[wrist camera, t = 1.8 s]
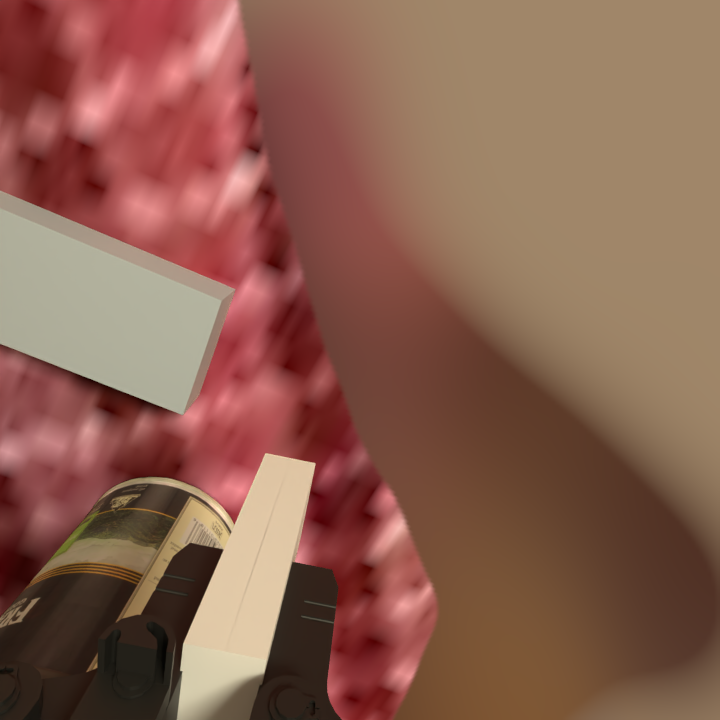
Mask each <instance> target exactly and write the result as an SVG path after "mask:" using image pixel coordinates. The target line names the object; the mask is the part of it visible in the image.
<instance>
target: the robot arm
mask: <svg viewBox="0 0 720 720" xmlns="http://www.w3.org/2000/svg"><path fill="white" fill-rule="evenodd" d="M314 468H315V463H311V462H306V461H301V460H296V459H292V458H287V457H282V456H277V455H272V454H267V453H266V454H265V456H264V458H263V461H262V463H261V465H260V468H259V470H258V472H257V474H256V477H255V479H254V481H253V484H252V486H251V488H250V491H249V493H248V495H247V498H246V500H245V502H244V504H243V507H242V509H241V511H240V514H239V516H238V518H237V521H236V523H235V525H234V528H233V530H232V532H231V534H230V537H229V539H228V541H227V544H226V546H225V548H224V549H219V548H214V547H209V546H204V545H199V544H194V543H189V544H188V545H186V546H185V547H184V548H183V549H181V550H180V551H179V552H178V553H176V554H175V555H174V556H173V557H172V559H171V561H170V563H169V564H168V566H167V568H166V570H165V572H164V574H163V576H162V577H161V579H160V581H159V582H158V584H157V586H156V589H155V591H153V593H152V595H151V597H150V599H149V600H148V602H147V604H146V606H145V608H144V609H143V611H142V613H141V615H134V616H130V617H127V618H123V619H121V620H119V621H117V622H116V623H114V624H112V625H111V626H109V627H108V628H107V629H106V630H105V631H104V632H103V634H102V635H101V636H100V637H99V638H98V660H97V668H96V669H93V670H91V671H88V672H86V673H81V674H76V675H71V676H62V677H54V678H45V679H41V675H40V672H39V671H38V670H37V669H36V668H35V667H33V666H32V665H31V664H29V663H25V662H20V661H8V662H0V720H342V719H341V718H340V717H339V716H338V715H337V714H336V712H335V711H334V709H333V707H332V705H331V703H330V701H329V697H328V693H327V678H328V669H329V661H330V653H331V644H332V636H333V628H334V619H335V611H336V603H337V594H338V585H337V582H336V580H335V577H334V574H333V571H332V570H330V569H325V568H320V567H316V566H311V565H306V564H301V563H296V562H295V559H296V555H297V550H298V546H299V542H300V538H301V533H302V528H303V523H304V518H305V513H306V508H307V503H308V498H309V493H310V488H311V483H312V478H313V473H314Z"/></svg>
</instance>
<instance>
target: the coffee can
mask: <svg viewBox="0 0 720 720" xmlns="http://www.w3.org/2000/svg"><path fill="white" fill-rule="evenodd" d="M233 528H234V523H233V521H232V520H231V518H230V516H229V515H228V513H227V512H226V511H225V510H224V509H223V507H222V506H221V505H220V504H219V503H218V502H217V501H215V500H214V499H213V498H212V497H210V496H209V495H208V494H206V493H204V492H203V491H201V490H200V489H198V488H196V487H194V486H191V485H188V484H186V483H184V482H181V481H177V480H174V479H169V478H162V477H142V478H135V479H131V480H128V481H125V482H123V483H120V484H118V485H116V486H114V487H113V488H111V489H110V490H108V491H107V492H106V493H105V494H104V495H103V496H102V497H101V498H100V499H99V500H98V501H97V502H96V504H95V505H94V507H93V509H92V510H91V511H90V512H89V514H88V515H87V516H86V517H85V519H84V520H83V521H82V522H81V523H80V525H79V526H78V527H77V528H76V529H75V530H74V531H73V533H72V534H71V535H70V536H69V537H68V539H67V540H66V541H65V542H64V543H63V545H62V546H61V547H60V548H59V549H58V550H57V552H56V553H55V554H54V555H53V556H52V557H51V559H50V560H49V561H48V562H47V563H46V565H45V566H44V567H43V568H42V569H41V570H40V572H39V573H38V574H37V575H36V576H35V577H34V578H33V580H32V581H31V582H30V583H29V584H28V585H27V586H26V588H25V589H24V590H23V591H22V593H21V594H20V595H19V596H18V597H17V598H16V599H15V601H14V602H13V603H12V604H11V606H10V607H9V608H8V609H7V610H6V611H5V612H4V613H3V615H2V616H1V617H0V662H8V661H20V662H25V663H29V664H31V665H32V666H33V667H35V668H36V669H37V670H38V671H39V672H40V675H41V679H45V678H54V677H62V676H71V675H76V674H81V673H86V672H88V671H91V670H93V669H96V668H97V660H98V638H99V637H100V636H101V635H102V634H103V632H104V631H105V630H106V629H107V628H108V627H109V626H111V625H112V624H114V623H116V622H117V621H119V620H121V619H123V618H127V617H130V616H134V615H141V613H142V611H143V609H144V608H145V606H146V604H147V602H148V600H149V599H150V597H151V595H152V593H153V591H155V589H156V586H157V584H158V582H159V581H160V579H161V577H162V576H163V574H164V572H165V570H166V568H167V566H168V564H169V563H170V561H171V559H172V557H173V556H174V555H175V554H176V553H178V552H179V551H180V550H181V549H183V548H184V547H185V546H186V545H188V544H189V543H194V544H199V545H204V546H209V547H214V548H219V549H224V548H225V546H226V544H227V541H228V539H229V537H230V534H231V532H232V530H233Z"/></svg>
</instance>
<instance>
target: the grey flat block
mask: <svg viewBox="0 0 720 720" xmlns="http://www.w3.org/2000/svg"><path fill="white" fill-rule="evenodd" d="M235 290H236V289H233V288H231V287H229V286H226V285H224V284H222V283H219V282H217V281H214V280H212V279H210V278H207V277H205V276H202V275H200V274H198V273H195V272H193V271H191V270H188V269H186V268H183V267H181V266H179V265H176V264H174V263H171V262H169V261H167V260H164V259H162V258H160V257H157V256H155V255H152V254H150V253H148V252H145V251H143V250H140V249H138V248H136V247H133V246H131V245H129V244H126V243H124V242H121V241H119V240H117V239H114V238H112V237H109V236H107V235H105V234H102V233H100V232H98V231H95V230H93V229H90V228H88V227H86V226H83V225H81V224H78V223H76V222H74V221H71V220H69V219H67V218H64V217H62V216H59V215H57V214H55V213H52V212H50V211H47V210H45V209H43V208H40V207H38V206H36V205H33V204H31V203H28V202H26V201H24V200H21V199H19V198H16V197H14V196H12V195H9V194H7V193H5V192H2V191H0V344H2V345H5V346H7V347H10V348H12V349H15V350H17V351H20V352H23V353H25V354H28V355H30V356H33V357H35V358H38V359H40V360H43V361H46V362H48V363H51V364H53V365H56V366H58V367H61V368H64V369H66V370H69V371H71V372H74V373H76V374H79V375H81V376H84V377H87V378H89V379H92V380H94V381H97V382H99V383H102V384H104V385H107V386H110V387H112V388H115V389H117V390H120V391H122V392H125V393H127V394H130V395H133V396H135V397H138V398H140V399H143V400H145V401H148V402H150V403H153V404H156V405H158V406H161V407H163V408H166V409H168V410H171V411H174V412H176V413H179V414H181V415H184V413H185V412H186V411H187V410H188V408H189V407H190V406H191V405H192V404H193V402H194V401H195V400H196V399H197V397H198V396H199V394H200V391H201V388H202V385H203V382H204V379H205V376H206V374H207V371H208V368H209V365H210V362H211V359H212V356H213V353H214V351H215V348H216V345H217V342H218V339H219V336H220V333H221V330H222V327H223V325H224V322H225V319H226V316H227V313H228V310H229V307H230V304H231V301H232V299H233V296H234V293H235Z"/></svg>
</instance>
